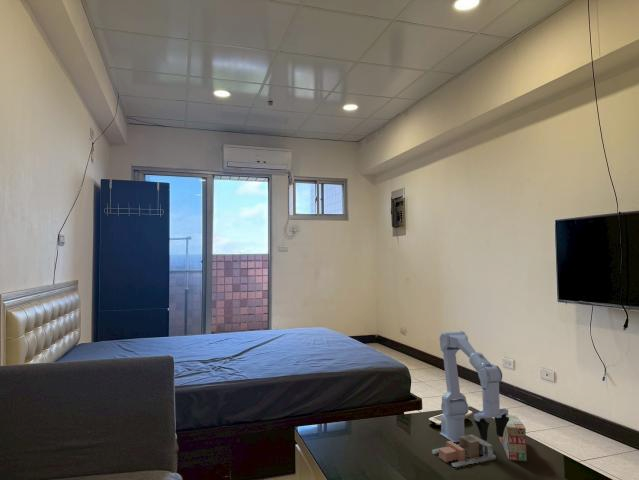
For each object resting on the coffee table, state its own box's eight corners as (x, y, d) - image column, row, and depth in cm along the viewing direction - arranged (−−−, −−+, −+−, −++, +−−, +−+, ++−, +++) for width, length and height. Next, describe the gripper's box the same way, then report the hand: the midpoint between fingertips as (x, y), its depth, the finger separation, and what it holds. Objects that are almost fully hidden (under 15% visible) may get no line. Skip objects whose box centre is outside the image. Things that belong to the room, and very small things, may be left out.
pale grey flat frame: (432, 452, 158) (431, 440, 158) (471, 444, 165) (470, 433, 165) (454, 468, 146) (454, 455, 146) (495, 458, 152) (495, 446, 153)
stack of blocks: (497, 436, 172) (496, 406, 173) (513, 437, 171) (512, 407, 172) (509, 460, 151) (507, 426, 152) (527, 461, 150) (525, 427, 151)
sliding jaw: (435, 455, 155) (435, 443, 155) (451, 451, 158) (451, 440, 158) (449, 464, 148) (449, 452, 148) (465, 461, 150) (465, 449, 151)
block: (459, 452, 158) (459, 436, 158) (467, 450, 160) (467, 434, 160) (470, 459, 152) (470, 442, 153) (479, 457, 154) (478, 441, 154)
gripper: (483, 406, 142) (484, 445, 142) (514, 400, 148) (515, 438, 147) (469, 399, 149) (470, 437, 148) (499, 394, 154) (500, 431, 154)
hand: (492, 437), depth 148 cm, fingers open, 7 cm apart
